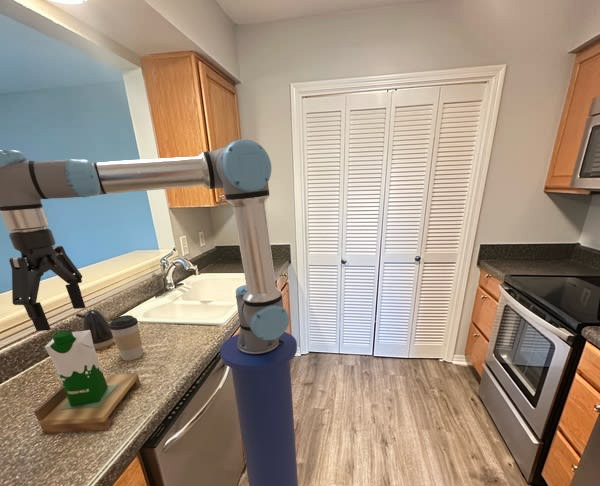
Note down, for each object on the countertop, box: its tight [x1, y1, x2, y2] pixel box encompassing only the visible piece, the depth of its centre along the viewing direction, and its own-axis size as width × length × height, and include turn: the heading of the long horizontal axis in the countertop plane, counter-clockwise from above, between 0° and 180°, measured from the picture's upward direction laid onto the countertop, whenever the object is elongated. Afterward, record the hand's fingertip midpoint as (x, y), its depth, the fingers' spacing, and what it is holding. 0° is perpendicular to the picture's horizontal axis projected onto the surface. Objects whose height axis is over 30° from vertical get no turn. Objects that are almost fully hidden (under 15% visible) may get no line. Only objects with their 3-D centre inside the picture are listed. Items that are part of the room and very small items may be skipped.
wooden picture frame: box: [33, 373, 141, 434], centre depth 90 cm, size 16×20×7 cm
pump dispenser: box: [75, 309, 115, 350], centre depth 123 cm, size 10×10×15 cm
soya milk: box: [44, 330, 108, 406], centre depth 85 cm, size 9×9×20 cm
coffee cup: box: [109, 314, 144, 361], centre depth 115 cm, size 9×9×15 cm
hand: (63, 318), depth 79 cm, fingers open, 13 cm apart
